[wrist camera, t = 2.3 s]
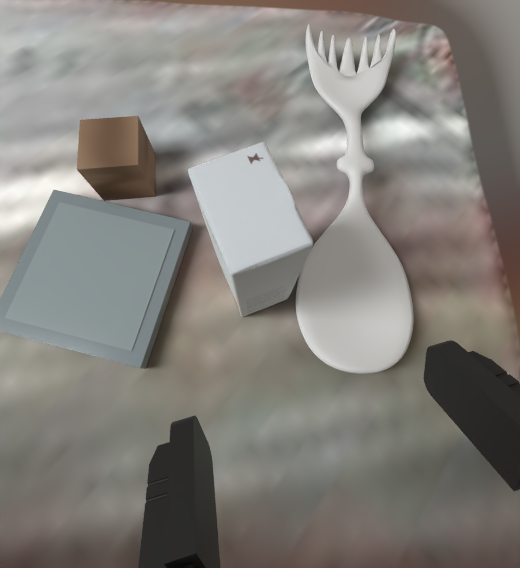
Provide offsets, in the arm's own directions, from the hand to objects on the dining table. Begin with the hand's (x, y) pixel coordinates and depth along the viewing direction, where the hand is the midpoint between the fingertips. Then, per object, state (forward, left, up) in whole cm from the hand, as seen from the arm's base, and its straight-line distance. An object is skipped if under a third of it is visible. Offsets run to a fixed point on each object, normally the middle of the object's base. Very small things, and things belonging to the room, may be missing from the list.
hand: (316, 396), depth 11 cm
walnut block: (-17, +14, -14) cm, 26 cm away
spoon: (+2, +18, -14) cm, 23 cm away
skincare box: (-4, +8, -14) cm, 17 cm away
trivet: (-16, +5, -14) cm, 22 cm away
